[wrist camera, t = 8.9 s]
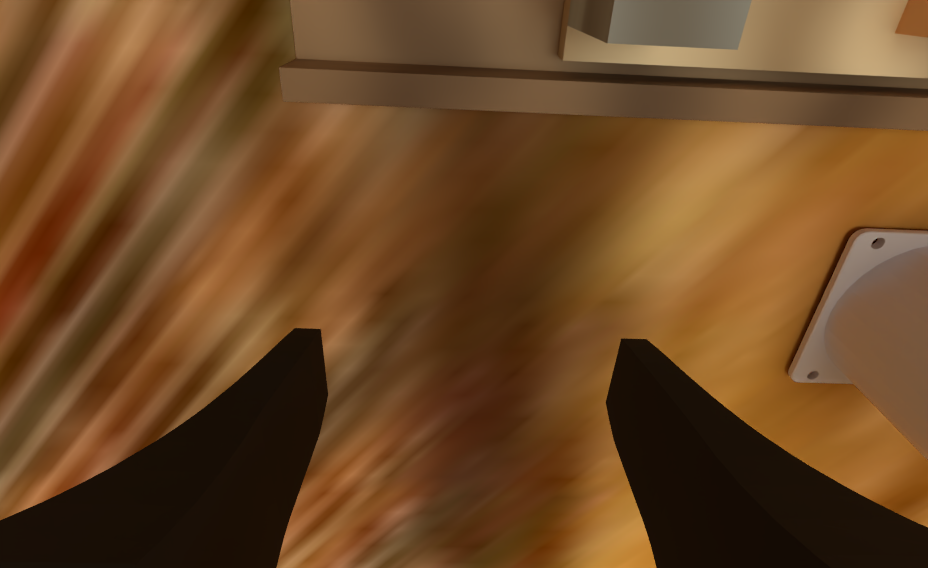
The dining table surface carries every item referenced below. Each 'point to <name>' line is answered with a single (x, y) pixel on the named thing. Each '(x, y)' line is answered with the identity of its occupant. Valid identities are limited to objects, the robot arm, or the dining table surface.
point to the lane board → (553, 70)
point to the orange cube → (914, 19)
